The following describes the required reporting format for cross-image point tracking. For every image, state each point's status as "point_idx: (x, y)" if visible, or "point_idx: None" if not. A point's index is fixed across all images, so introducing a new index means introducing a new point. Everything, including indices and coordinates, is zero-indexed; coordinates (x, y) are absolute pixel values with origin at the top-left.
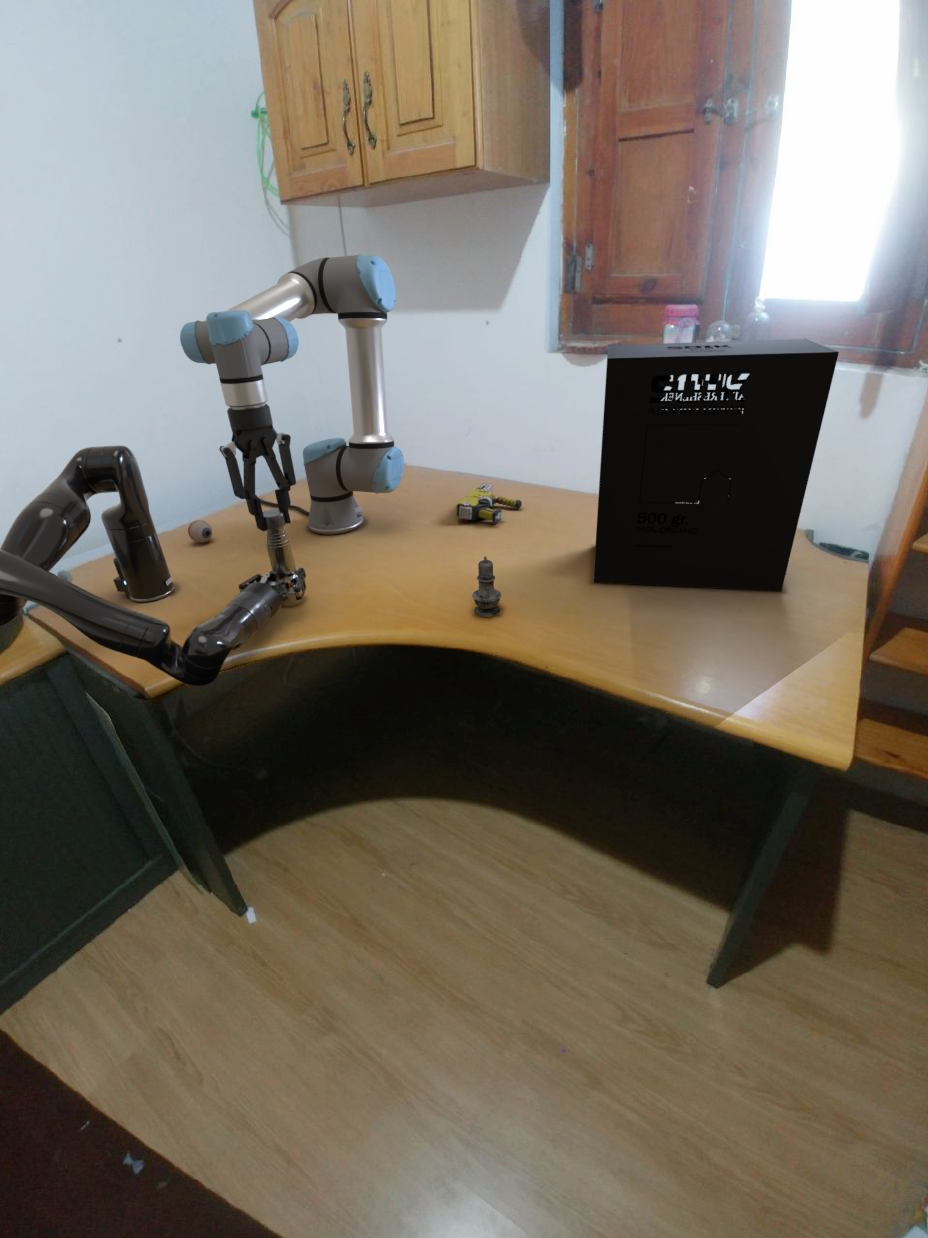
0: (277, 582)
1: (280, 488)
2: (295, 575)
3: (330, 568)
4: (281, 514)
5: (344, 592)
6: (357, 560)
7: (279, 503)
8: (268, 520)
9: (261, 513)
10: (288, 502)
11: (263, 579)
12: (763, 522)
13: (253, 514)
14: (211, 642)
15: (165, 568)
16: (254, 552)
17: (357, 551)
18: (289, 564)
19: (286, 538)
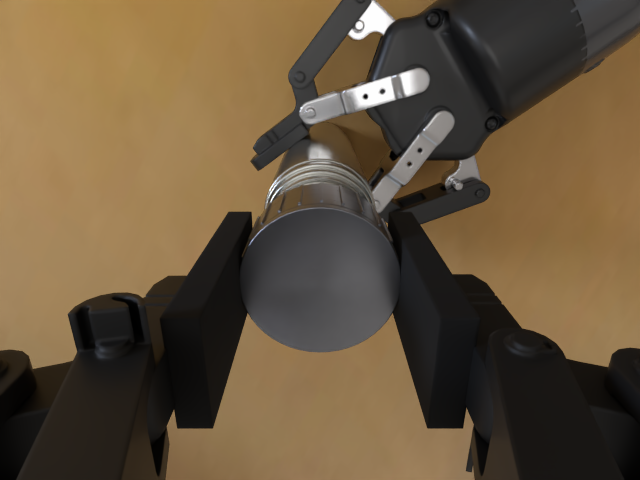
0: (401, 79)
1: (164, 392)
2: (309, 108)
3: (133, 260)
4: (278, 215)
5: (167, 81)
6: (42, 248)
7: (232, 323)
8: (376, 222)
9: (423, 253)
10: (171, 286)
11: (416, 157)
12: None
13: (473, 278)
14: None
15: None
16: (254, 474)
17: (19, 300)
18: (311, 142)
19: (289, 178)
